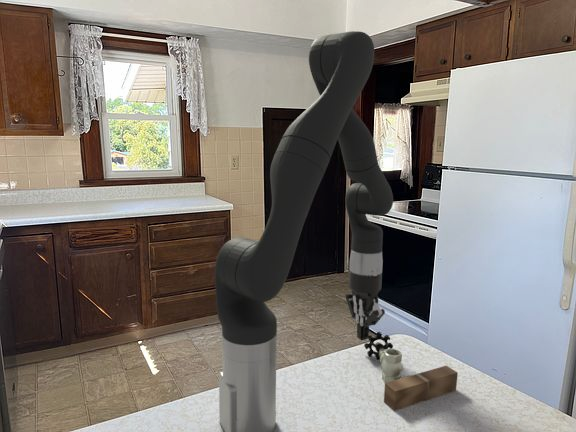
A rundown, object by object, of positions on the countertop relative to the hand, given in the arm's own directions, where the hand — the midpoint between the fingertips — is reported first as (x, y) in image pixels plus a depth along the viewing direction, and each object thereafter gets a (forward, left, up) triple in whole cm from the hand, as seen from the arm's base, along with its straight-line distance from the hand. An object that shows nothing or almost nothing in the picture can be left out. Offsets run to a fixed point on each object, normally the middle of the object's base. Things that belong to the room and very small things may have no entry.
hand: (362, 338), depth 101 cm
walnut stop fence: (0, -20, -3) cm, 20 cm away
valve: (-1, -9, -4) cm, 10 cm away
